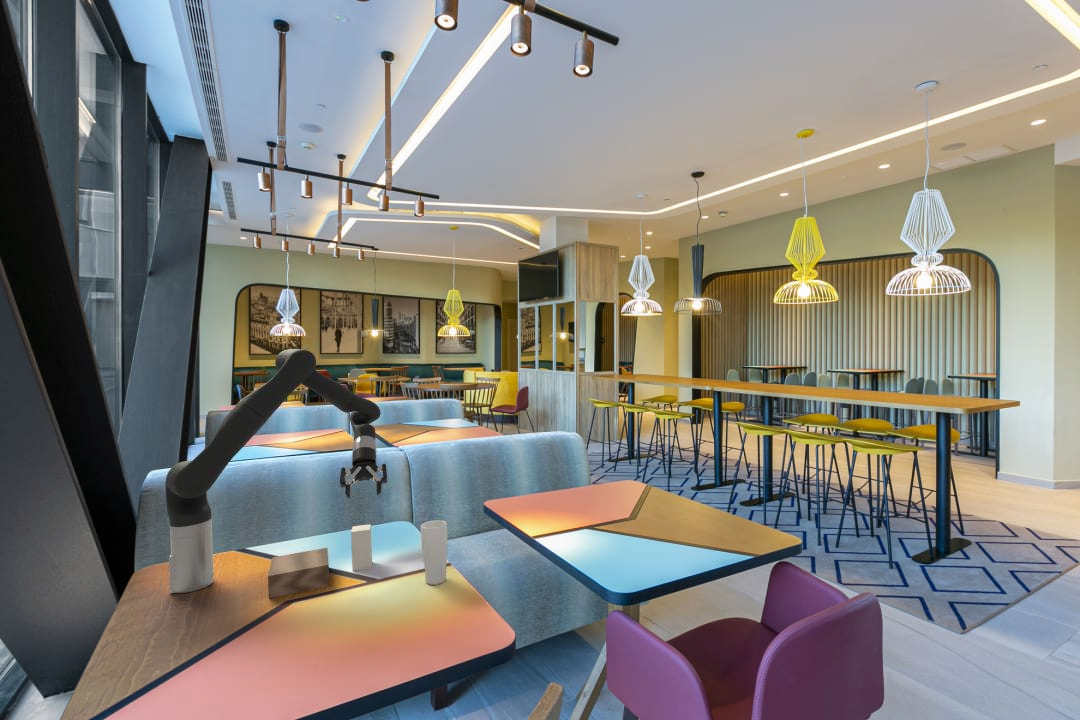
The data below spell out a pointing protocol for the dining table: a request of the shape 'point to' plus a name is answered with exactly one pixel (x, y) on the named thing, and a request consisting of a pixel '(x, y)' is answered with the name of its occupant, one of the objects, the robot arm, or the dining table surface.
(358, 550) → the offwhite block
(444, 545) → the drinking glass
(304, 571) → the walnut box
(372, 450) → the robot arm
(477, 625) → the dining table surface
